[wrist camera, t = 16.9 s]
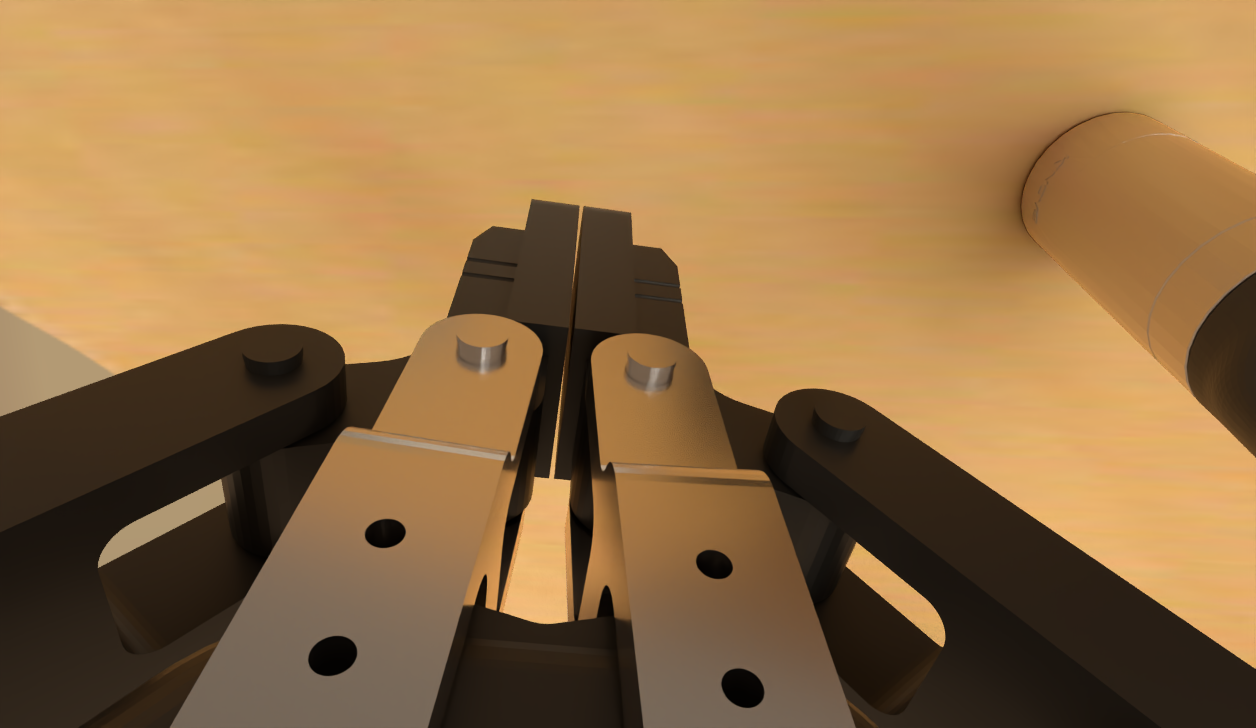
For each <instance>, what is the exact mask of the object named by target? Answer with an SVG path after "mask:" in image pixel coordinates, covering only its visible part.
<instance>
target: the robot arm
mask: <svg viewBox="0 0 1256 728" xmlns="http://www.w3.org/2000/svg"><path fill="white" fill-rule="evenodd" d="M1021 209H1022V218H1023V222H1024V224H1025V227H1026V229H1027V232H1028V233H1029V234H1030V235H1031V237H1032V238H1033V239H1034V240H1035V241H1036V242H1037V243H1038V244H1039V245H1040V246H1041V247H1042V248H1043V249H1044V250H1045V251H1046V252H1047V253H1048V254H1049V255H1050V256H1051V257H1052V258H1053V259H1054V260H1055V261H1056V262H1057V263H1058V264H1059V265H1060V266H1061V267H1062V268H1063V269H1064V270H1065V271H1066V272H1067V273H1068V274H1069V275H1070V276H1071V277H1072V278H1073V279H1074V280H1075V281H1076V282H1077V283H1078V284H1079V285H1080V286H1081V287H1082V288H1083V289H1084V290H1085V291H1086V292H1087V293H1088V294H1089V295H1090V296H1091V297H1092V298H1093V299H1094V300H1095V301H1096V302H1097V303H1098V304H1100V305H1101V306H1102V307H1103V308H1104V309H1105V310H1106V311H1107V312H1108V313H1109V314H1110V315H1111V316H1112V317H1113V318H1114V319H1115V320H1116V321H1117V322H1118V323H1119V324H1120V325H1121V326H1122V327H1123V328H1124V329H1125V330H1126V331H1127V332H1128V333H1129V334H1130V335H1131V336H1132V337H1133V338H1134V339H1135V340H1136V341H1137V342H1139V343H1140V344H1141V345H1142V346H1143V347H1144V348H1145V349H1146V350H1147V351H1148V352H1149V353H1150V354H1151V355H1152V356H1153V357H1154V358H1155V359H1156V360H1157V361H1158V362H1159V363H1160V364H1161V365H1162V366H1163V367H1164V368H1165V369H1167V370H1168V371H1169V372H1170V373H1171V374H1172V375H1173V376H1174V377H1175V378H1176V379H1177V380H1178V381H1179V382H1180V383H1181V384H1182V385H1183V386H1184V387H1185V388H1186V389H1187V390H1188V391H1189V392H1190V393H1191V394H1192V395H1193V396H1194V397H1195V398H1196V399H1197V400H1198V401H1199V402H1200V403H1201V404H1202V405H1203V406H1204V407H1205V408H1206V409H1207V410H1208V411H1209V412H1210V413H1211V414H1212V415H1213V416H1214V417H1215V418H1217V419H1218V420H1219V421H1220V422H1221V423H1222V424H1223V425H1224V426H1225V427H1226V428H1227V429H1228V430H1229V431H1230V432H1231V433H1232V434H1233V435H1234V436H1235V437H1236V438H1237V439H1238V440H1239V441H1240V442H1241V443H1242V444H1243V445H1244V446H1245V447H1246V448H1247V449H1248V450H1249V451H1250V452H1251V453H1252V454H1253V455H1254V456H1255V457H1256V174H1254V173H1252V172H1251V171H1249V170H1247V169H1245V168H1243V167H1241V166H1239V165H1238V164H1236V163H1234V162H1232V161H1230V160H1228V159H1226V158H1225V157H1223V156H1221V155H1219V154H1217V153H1215V152H1214V151H1212V150H1210V149H1208V148H1206V147H1204V146H1202V145H1201V144H1199V143H1198V142H1196V141H1194V140H1192V139H1190V138H1188V137H1187V136H1185V135H1183V134H1181V133H1179V132H1177V131H1175V130H1174V129H1172V128H1170V127H1168V126H1166V125H1164V124H1162V123H1161V122H1159V121H1157V120H1154V119H1152V118H1150V117H1148V116H1146V115H1142V114H1136V113H1131V112H1126V113H1111V114H1107V115H1103V116H1099V117H1095V118H1093V119H1091V120H1089V121H1086V122H1084V123H1082V124H1079V125H1078V126H1076V127H1074V128H1073V129H1071V130H1070V131H1068V132H1067V133H1065V134H1064V135H1062V136H1061V137H1060V138H1059V139H1058V140H1057V141H1055V142H1054V143H1053V144H1052V145H1051V146H1050V147H1049V148H1048V149H1047V150H1046V151H1045V152H1044V154H1043V155H1042V156H1041V157H1040V159H1039V160H1038V161H1037V162H1036V164H1035V166H1034V168H1033V169H1032V171H1031V173H1030V175H1029V176H1028V179H1027V182H1026V185H1025V188H1024V191H1023V196H1022V204H1021ZM578 218H579V206H578V205H571V204H563V203H556V202H549V201H542V200H534V199H532V200H531V205H530V209H529V214H528V219H527V223H526V228H525V230H518V229H510V228H503V227H495V226H492V227H491V228H489V229H488V230H487V231H485V232H484V233H482V234H481V235H479V236H478V237H476V238H475V239H473V242H472V245H471V248H470V251H469V254H468V257H467V261H466V263H465V266H464V269H463V272H462V276H461V278H460V281H459V284H458V287H457V290H456V293H455V296H454V298H453V301H452V304H451V307H450V310H449V313H448V316H447V318H445V319H443V320H441V321H438V322H436V323H435V324H433V325H431V326H430V327H429V328H428V329H426V330H425V332H424V333H423V334H422V336H421V338H420V339H419V341H418V343H417V345H416V347H415V349H414V351H413V353H412V355H410V356H407V357H403V358H399V359H395V360H390V361H381V362H370V363H357V364H345V354H344V351H343V349H342V347H341V345H340V344H339V343H338V342H337V341H336V340H335V339H334V338H332V337H331V336H329V335H327V334H326V333H324V332H321V331H319V330H316V329H313V328H309V327H305V326H298V325H286V324H276V325H263V326H256V327H252V328H247V329H243V330H240V331H237V332H234V333H231V334H228V335H226V336H223V337H220V338H217V339H215V340H212V341H209V342H206V343H203V344H201V345H198V346H195V347H192V348H190V349H187V350H184V351H181V352H178V353H176V354H173V355H170V356H167V357H165V358H162V359H159V360H156V361H153V362H151V363H148V364H145V365H142V366H140V367H137V368H134V369H131V370H128V371H126V372H123V373H120V374H117V375H115V376H112V377H109V378H106V379H104V380H101V381H98V382H95V383H93V384H90V385H87V386H84V387H81V388H78V389H76V390H73V391H70V392H67V393H65V394H62V395H59V396H56V397H53V398H51V399H48V400H45V401H42V402H40V403H37V404H34V405H31V406H29V407H26V408H23V409H20V410H18V411H15V412H12V413H9V414H6V415H3V416H1V417H0V728H1256V669H1255V668H1253V667H1252V666H1250V665H1249V664H1247V663H1246V662H1244V661H1243V660H1241V659H1240V658H1238V657H1237V656H1235V655H1234V654H1233V653H1231V652H1230V651H1228V650H1227V649H1225V648H1224V647H1222V646H1221V645H1219V644H1218V643H1216V642H1215V641H1214V640H1212V639H1211V638H1209V637H1208V636H1206V635H1205V634H1203V633H1202V632H1200V631H1199V630H1197V629H1196V628H1194V627H1193V626H1192V625H1190V624H1189V623H1187V622H1186V621H1184V620H1183V619H1181V618H1180V617H1178V616H1177V615H1175V614H1174V613H1172V612H1171V611H1170V610H1168V609H1167V608H1165V607H1164V606H1162V605H1161V604H1159V603H1158V602H1156V601H1155V600H1153V599H1152V598H1151V597H1149V596H1148V595H1146V594H1145V593H1143V592H1142V591H1140V590H1139V589H1137V588H1136V587H1134V586H1133V585H1131V584H1130V583H1129V582H1127V581H1126V580H1124V579H1123V578H1121V577H1120V576H1118V575H1117V574H1115V573H1114V572H1112V571H1111V570H1109V569H1108V568H1107V567H1105V566H1104V565H1102V564H1101V563H1099V562H1098V561H1096V560H1095V559H1093V558H1092V557H1090V556H1089V555H1087V554H1086V553H1085V552H1083V551H1082V550H1080V549H1079V548H1077V547H1076V546H1074V545H1073V544H1071V543H1070V542H1068V541H1067V540H1066V539H1064V538H1063V537H1061V536H1060V535H1058V534H1057V533H1055V532H1054V531H1052V530H1051V529H1049V528H1048V527H1046V526H1045V525H1044V524H1042V523H1041V522H1039V521H1038V520H1036V519H1035V518H1033V517H1032V516H1030V515H1029V514H1027V513H1026V512H1024V511H1023V510H1022V509H1020V508H1019V507H1017V506H1016V505H1014V504H1013V503H1011V502H1010V501H1008V500H1007V499H1005V498H1004V497H1003V496H1001V495H1000V494H998V493H997V492H995V491H994V490H992V489H991V488H989V487H988V486H986V485H985V484H983V483H982V482H981V481H979V480H978V479H976V478H975V477H973V476H972V475H970V474H969V473H967V472H966V471H964V470H963V469H961V468H960V467H959V466H957V465H956V464H954V463H953V462H951V461H950V460H948V459H947V458H945V457H944V456H942V455H941V454H940V453H938V452H937V451H935V450H934V449H932V448H931V447H929V446H928V445H926V444H925V443H923V442H922V441H920V440H919V439H918V438H916V437H915V436H913V435H912V434H910V433H909V432H907V431H906V430H904V429H903V428H901V427H900V426H898V425H897V424H896V423H894V422H893V421H891V420H890V419H888V418H887V417H885V416H884V415H882V414H881V413H879V412H878V411H877V410H875V409H874V408H872V407H870V406H869V405H867V404H865V403H864V402H862V401H860V400H858V399H856V398H853V397H851V396H848V395H846V394H842V393H839V392H835V391H830V390H825V389H801V390H796V391H793V392H790V393H788V394H786V395H785V396H783V397H782V398H781V399H780V400H779V401H778V403H777V405H776V408H775V411H774V413H771V412H768V411H765V410H762V409H759V408H755V407H752V406H749V405H746V404H743V403H741V402H738V401H735V400H733V399H731V398H729V397H727V396H724V395H723V394H721V393H719V392H718V391H716V390H714V389H713V386H712V382H711V379H710V376H709V372H708V369H707V367H706V365H705V363H704V362H703V360H702V359H701V358H700V357H699V356H698V355H697V354H696V353H695V352H693V351H692V350H691V349H689V343H688V337H687V330H686V323H685V316H684V309H683V304H682V296H681V289H680V288H679V287H680V282H679V275H678V268H677V266H676V264H675V263H674V262H673V261H672V260H671V259H670V258H669V257H668V256H667V254H666V253H665V252H664V251H663V250H662V249H660V248H653V247H645V246H638V245H633V241H632V220H631V213H629V212H622V211H615V210H608V209H601V208H593V207H586V206H584V207H583V214H582V221H581V228H580V236H579V243H578V251H577V259H576V266H575V274H574V264H575V252H576V241H577V229H578ZM573 275H574V282H573ZM572 286H573V289H572ZM564 361H565V363H564ZM563 368H564V374H563ZM562 376H563V385H562V397H561V408H560V419H559V430H558V441H557V452H556V463H555V475H554V479H563V480H571V485H570V498H569V504H568V511H567V517H566V524H565V548H566V578H567V608H568V622H563V623H556V624H539V623H534V622H530V621H527V620H524V619H521V618H518V617H515V616H511V615H508V614H505V613H503V610H504V606H505V602H506V597H507V593H508V589H509V584H510V580H511V576H512V572H513V567H514V563H515V559H516V554H517V550H518V546H519V541H520V537H521V533H522V529H523V522H524V513H525V508H526V507H527V506H528V504H529V502H530V500H531V496H532V492H533V483H534V477H541V478H549V474H550V467H551V459H552V452H553V444H554V437H555V429H556V421H557V414H558V406H559V399H560V391H561V384H562ZM219 479H221V480H222V486H223V491H224V497H225V503H223V504H221V505H219V506H217V507H216V508H213V509H211V510H209V511H208V512H206V513H204V514H202V515H200V516H198V517H196V518H194V519H192V520H190V521H188V522H186V523H184V524H182V525H181V526H179V527H177V528H175V529H173V530H171V531H169V532H167V533H165V534H163V535H161V536H159V537H157V538H155V539H153V540H152V541H150V542H148V543H146V544H144V545H142V546H140V547H138V548H136V549H134V550H132V551H130V552H128V553H126V554H125V555H122V556H121V557H119V558H117V559H115V560H113V561H111V562H109V563H107V564H105V565H103V566H101V567H99V568H98V561H99V557H100V555H101V553H102V551H103V549H104V547H105V546H106V544H107V543H108V542H109V541H110V539H111V538H112V537H113V536H114V535H116V533H118V532H119V531H120V530H121V529H122V528H124V527H126V526H127V525H129V524H131V523H132V522H134V521H136V520H138V519H140V518H142V517H144V516H146V515H148V514H150V513H152V512H154V511H156V510H158V509H160V508H163V507H164V506H167V505H169V504H171V503H173V502H175V501H177V500H179V499H181V498H183V497H185V496H187V495H189V494H191V493H193V492H195V491H197V490H199V489H201V488H203V487H205V486H207V485H209V484H211V483H213V482H215V481H217V480H219ZM856 542H857V543H859V544H860V545H861V546H862V547H864V548H865V549H866V550H867V551H868V552H870V553H871V554H872V555H873V556H875V557H876V558H877V559H878V560H879V561H881V562H882V563H883V564H884V565H886V566H887V567H888V568H889V569H890V570H892V571H893V572H894V573H895V574H897V575H898V576H899V577H900V578H901V579H903V580H904V581H905V582H906V583H908V584H909V585H910V586H911V587H912V588H914V589H915V590H916V591H917V592H918V593H920V594H921V595H922V596H923V597H925V598H926V599H927V600H928V601H929V602H930V603H931V604H932V606H933V607H934V608H935V609H936V611H937V612H938V614H939V616H940V618H941V620H942V622H943V625H944V629H945V644H944V646H943V648H942V647H941V646H939V645H938V644H937V643H935V642H934V641H933V640H932V639H931V638H929V637H928V636H927V635H926V634H925V633H923V632H922V631H921V630H920V629H919V628H918V627H916V626H915V625H914V624H913V623H912V622H911V621H909V620H908V619H907V618H906V617H905V616H904V615H902V614H901V613H900V612H899V611H898V610H896V609H895V608H894V607H893V606H892V605H891V604H889V603H888V602H887V601H886V600H885V599H884V598H882V597H881V596H880V595H879V594H878V593H876V592H875V591H874V590H873V589H872V588H871V587H869V586H868V585H867V584H866V583H865V582H864V581H862V580H861V579H860V578H859V577H858V576H857V575H855V574H854V573H853V572H852V571H851V570H849V569H848V568H847V567H846V564H847V562H848V560H849V557H850V555H851V553H852V551H853V549H854V546H855V544H856Z"/></svg>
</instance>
